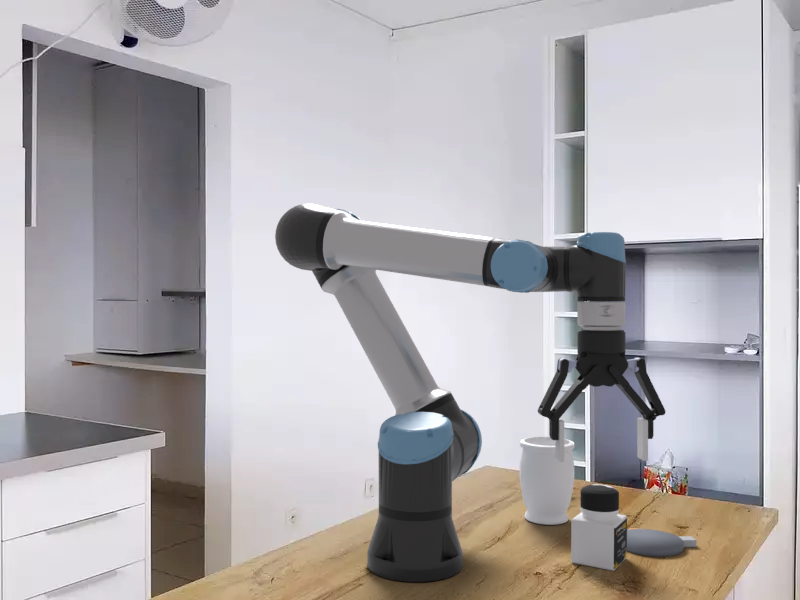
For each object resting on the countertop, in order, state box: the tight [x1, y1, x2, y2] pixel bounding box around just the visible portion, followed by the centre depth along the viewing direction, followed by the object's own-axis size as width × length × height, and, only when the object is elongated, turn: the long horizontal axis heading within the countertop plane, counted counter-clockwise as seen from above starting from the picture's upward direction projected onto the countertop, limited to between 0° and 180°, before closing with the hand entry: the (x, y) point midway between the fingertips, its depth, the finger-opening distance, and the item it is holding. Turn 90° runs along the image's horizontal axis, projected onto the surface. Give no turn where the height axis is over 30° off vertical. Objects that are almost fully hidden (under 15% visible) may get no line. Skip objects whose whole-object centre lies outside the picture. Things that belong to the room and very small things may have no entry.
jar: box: [518, 436, 575, 526], centre depth 148 cm, size 11×10×15 cm
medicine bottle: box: [570, 483, 628, 571], centre depth 125 cm, size 7×7×12 cm
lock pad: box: [627, 527, 697, 557], centre depth 134 cm, size 16×13×1 cm
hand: (601, 459), depth 125 cm, fingers open, 13 cm apart
